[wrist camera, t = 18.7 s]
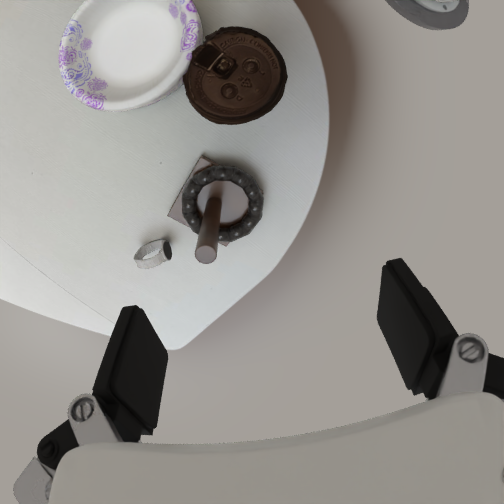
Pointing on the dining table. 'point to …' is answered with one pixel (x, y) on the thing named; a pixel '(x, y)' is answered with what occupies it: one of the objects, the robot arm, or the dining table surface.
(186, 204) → the ring
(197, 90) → the coffee cup
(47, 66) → the dining table surface
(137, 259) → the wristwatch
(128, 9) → the paper bowls
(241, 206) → the post
